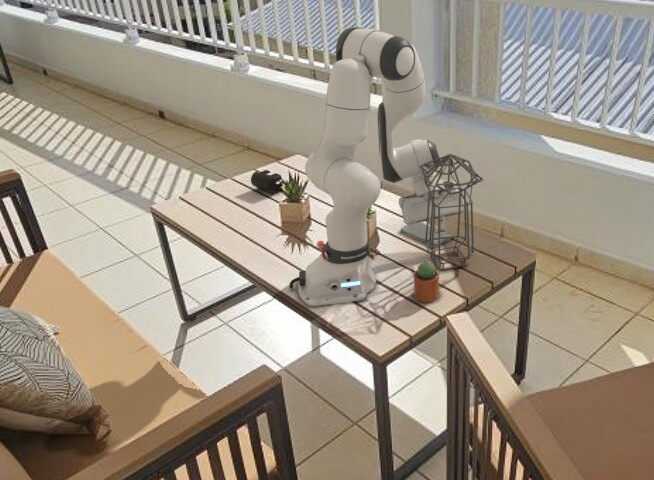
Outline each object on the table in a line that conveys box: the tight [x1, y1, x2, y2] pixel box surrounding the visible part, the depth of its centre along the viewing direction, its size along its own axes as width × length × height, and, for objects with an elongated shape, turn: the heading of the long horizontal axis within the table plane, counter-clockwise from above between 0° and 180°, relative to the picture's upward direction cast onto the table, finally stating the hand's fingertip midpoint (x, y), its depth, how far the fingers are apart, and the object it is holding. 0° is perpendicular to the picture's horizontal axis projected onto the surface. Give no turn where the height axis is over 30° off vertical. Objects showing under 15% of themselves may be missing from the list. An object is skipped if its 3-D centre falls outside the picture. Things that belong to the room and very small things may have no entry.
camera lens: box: [250, 169, 284, 195], centre depth 233 cm, size 10×7×7 cm
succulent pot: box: [413, 261, 440, 303], centre depth 172 cm, size 7×7×11 cm
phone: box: [400, 222, 452, 249], centre depth 203 cm, size 8×16×1 cm, turn 47°
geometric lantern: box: [419, 153, 485, 271], centre depth 180 cm, size 16×16×35 cm
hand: (440, 231), depth 191 cm, fingers closed
